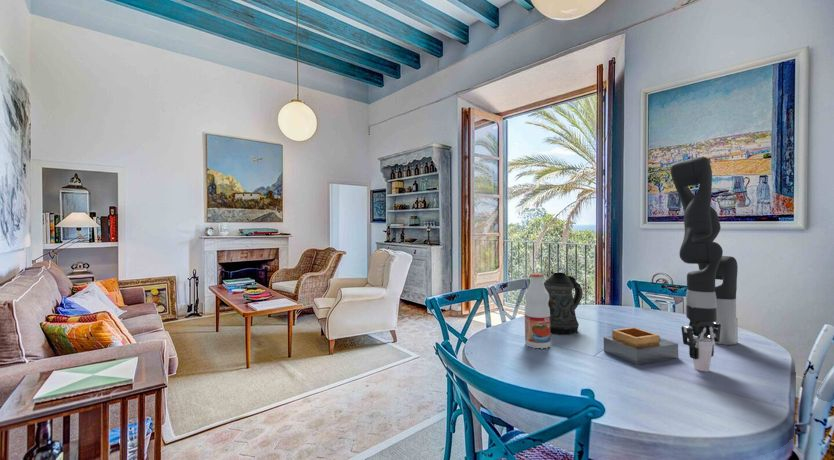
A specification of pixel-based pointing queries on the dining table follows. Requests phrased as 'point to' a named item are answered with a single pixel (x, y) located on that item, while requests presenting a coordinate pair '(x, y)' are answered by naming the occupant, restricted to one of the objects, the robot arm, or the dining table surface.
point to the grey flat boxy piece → (639, 346)
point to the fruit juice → (537, 313)
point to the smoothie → (704, 354)
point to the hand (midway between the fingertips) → (701, 356)
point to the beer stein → (563, 303)
